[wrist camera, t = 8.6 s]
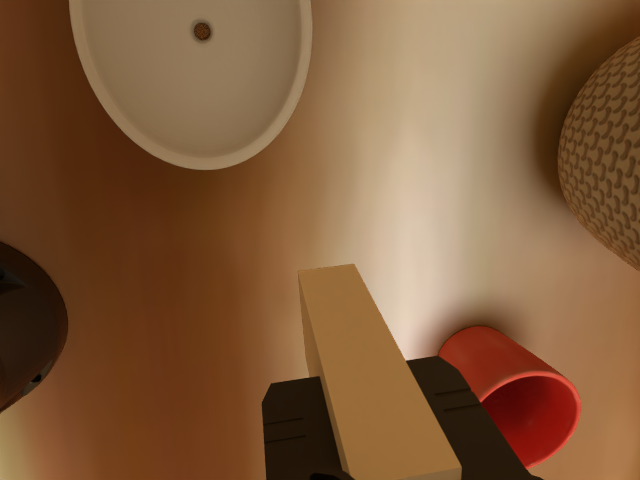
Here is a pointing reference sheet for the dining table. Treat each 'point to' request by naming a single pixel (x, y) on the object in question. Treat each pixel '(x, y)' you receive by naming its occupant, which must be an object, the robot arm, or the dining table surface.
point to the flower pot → (516, 391)
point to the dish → (196, 72)
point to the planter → (606, 154)
